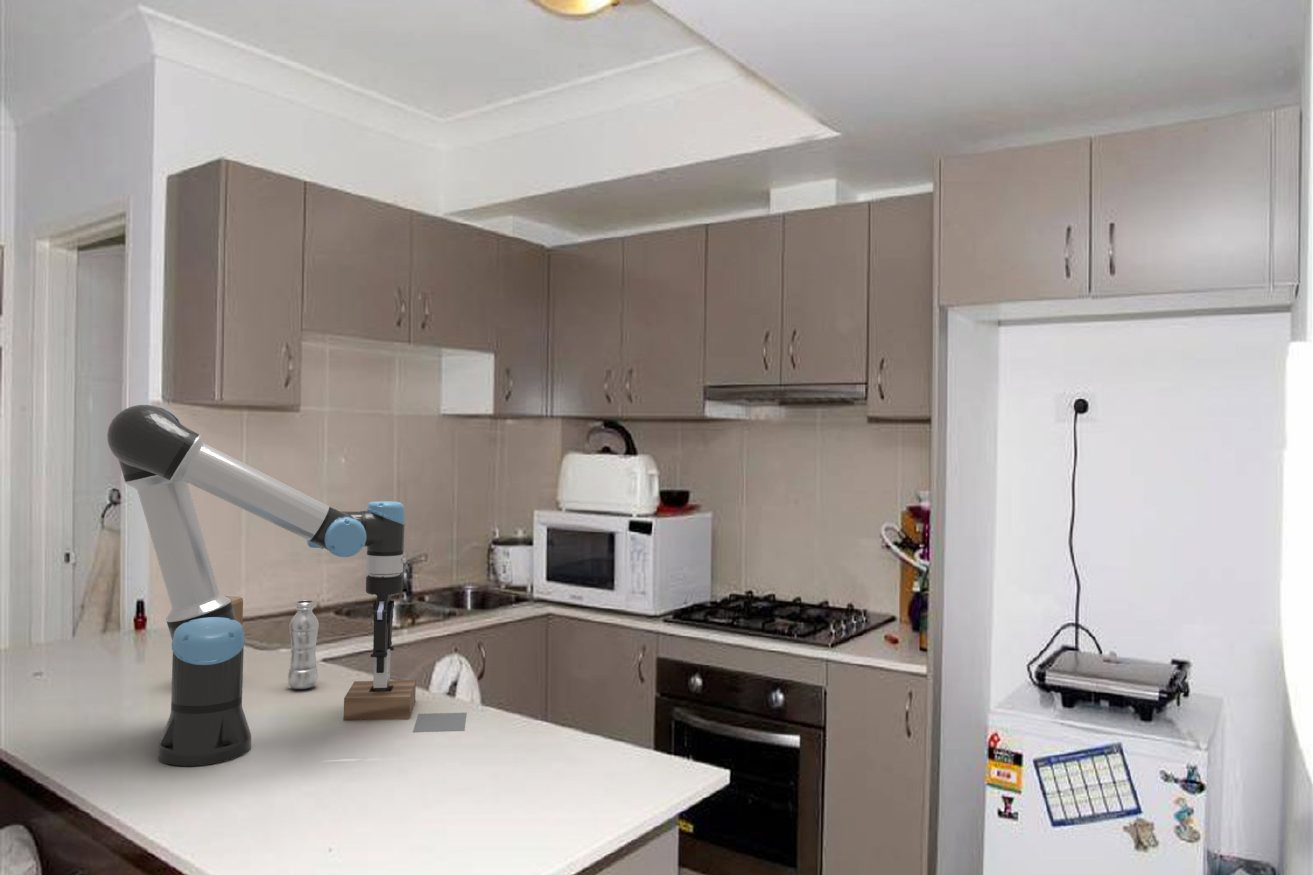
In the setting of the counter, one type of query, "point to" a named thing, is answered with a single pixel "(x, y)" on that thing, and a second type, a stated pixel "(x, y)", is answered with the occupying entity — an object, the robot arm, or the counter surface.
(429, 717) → the rubber mat
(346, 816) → the counter surface
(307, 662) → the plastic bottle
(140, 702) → the counter surface
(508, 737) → the counter surface
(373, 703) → the walnut socket block
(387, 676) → the steel pin
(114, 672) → the counter surface
